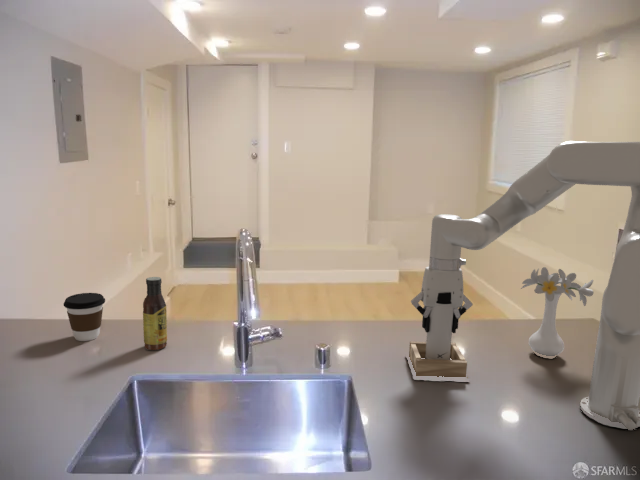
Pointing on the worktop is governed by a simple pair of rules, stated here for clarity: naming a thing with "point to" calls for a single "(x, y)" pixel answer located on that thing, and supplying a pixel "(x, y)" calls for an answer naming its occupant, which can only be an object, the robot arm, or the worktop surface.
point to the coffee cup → (85, 315)
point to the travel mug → (440, 329)
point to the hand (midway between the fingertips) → (439, 330)
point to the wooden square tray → (437, 362)
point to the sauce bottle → (154, 316)
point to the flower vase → (553, 307)
